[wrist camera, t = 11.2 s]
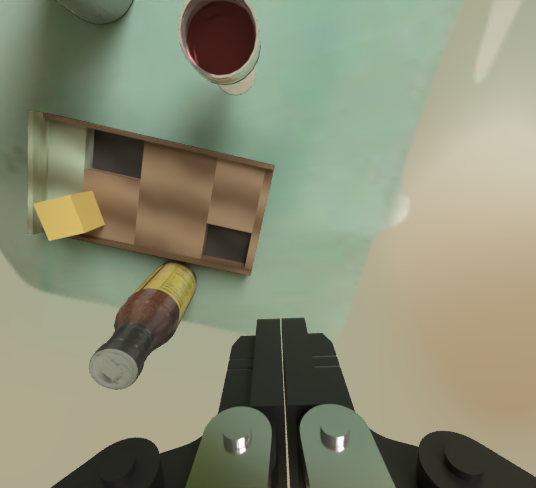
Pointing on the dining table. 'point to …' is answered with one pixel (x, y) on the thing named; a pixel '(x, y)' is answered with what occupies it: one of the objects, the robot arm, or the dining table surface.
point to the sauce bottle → (144, 325)
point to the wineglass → (221, 42)
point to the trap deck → (151, 191)
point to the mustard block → (69, 215)
